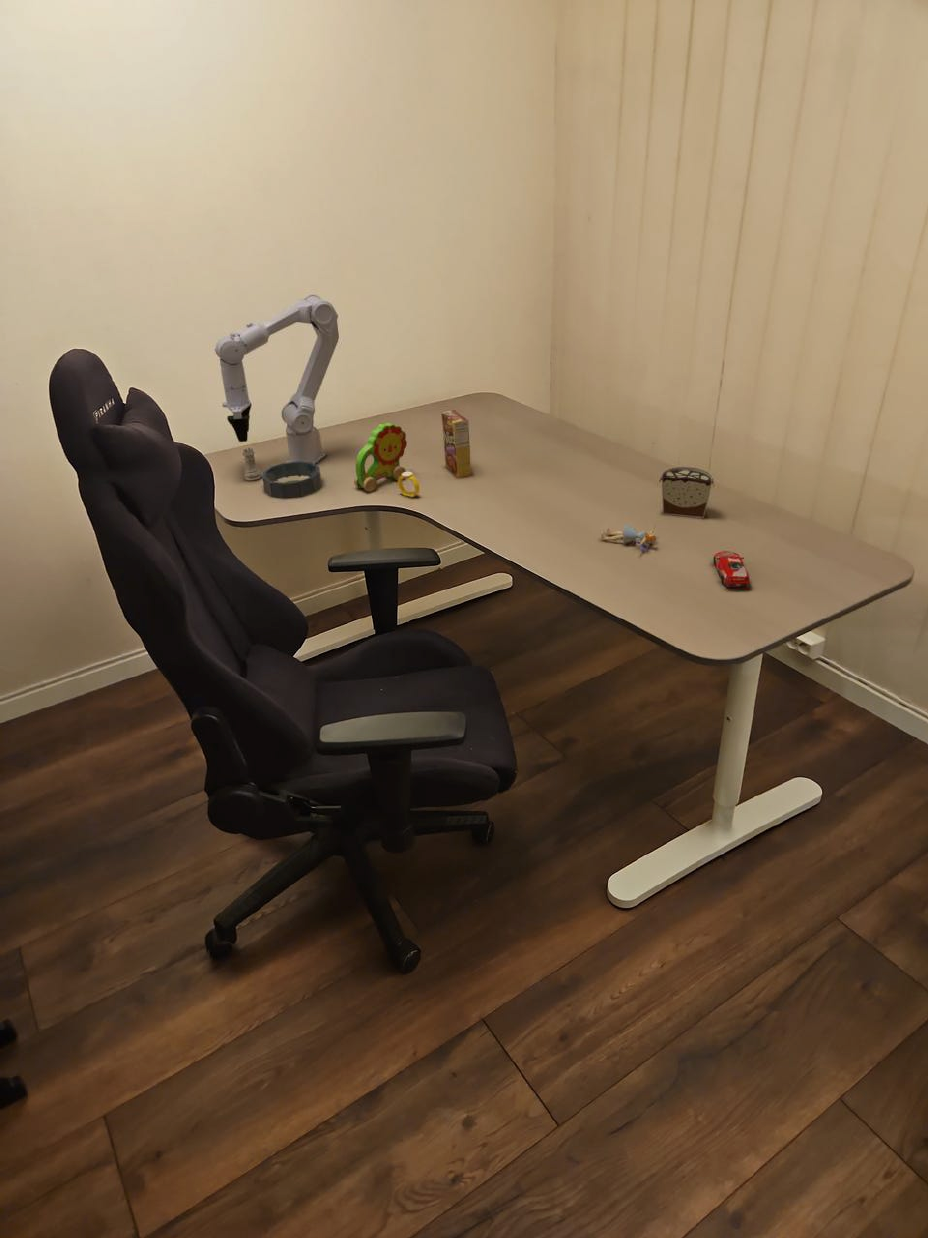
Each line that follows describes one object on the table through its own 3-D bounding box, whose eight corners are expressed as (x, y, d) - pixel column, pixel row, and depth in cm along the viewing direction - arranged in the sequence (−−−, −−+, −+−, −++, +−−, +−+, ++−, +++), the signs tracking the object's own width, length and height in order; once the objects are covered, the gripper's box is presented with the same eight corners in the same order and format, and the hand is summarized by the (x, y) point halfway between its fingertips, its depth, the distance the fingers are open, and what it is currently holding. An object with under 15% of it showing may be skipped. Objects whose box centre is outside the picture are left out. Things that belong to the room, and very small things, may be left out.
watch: (422, 496, 222) (420, 474, 219) (415, 500, 220) (413, 478, 217) (404, 491, 225) (402, 469, 222) (396, 495, 224) (394, 473, 220)
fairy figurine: (614, 513, 201) (665, 518, 195) (615, 532, 204) (665, 537, 197) (593, 533, 193) (645, 539, 187) (594, 553, 195) (645, 559, 189)
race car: (711, 559, 188) (712, 543, 186) (736, 559, 188) (739, 542, 186) (723, 590, 177) (725, 573, 175) (750, 590, 177) (753, 573, 175)
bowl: (283, 472, 239) (281, 458, 237) (331, 478, 234) (329, 464, 232) (254, 494, 228) (251, 479, 226) (303, 500, 223) (301, 486, 221)
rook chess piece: (257, 481, 235) (252, 453, 230) (242, 480, 235) (236, 452, 231) (264, 475, 238) (259, 446, 234) (248, 474, 239) (243, 446, 235)
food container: (713, 508, 210) (717, 468, 204) (710, 519, 205) (715, 478, 199) (660, 502, 213) (663, 463, 208) (656, 513, 208) (659, 473, 203)
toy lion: (367, 494, 225) (360, 437, 216) (353, 488, 228) (347, 432, 220) (413, 475, 234) (409, 420, 226) (400, 470, 237) (395, 415, 229)
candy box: (443, 466, 238) (440, 411, 230) (458, 463, 239) (456, 409, 231) (456, 478, 231) (453, 422, 223) (471, 475, 232) (469, 419, 224)
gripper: (221, 378, 233) (230, 428, 240) (217, 395, 221) (226, 447, 228) (248, 376, 234) (256, 426, 241) (245, 393, 222) (254, 444, 229)
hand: (243, 436), depth 234 cm, fingers open, 7 cm apart
